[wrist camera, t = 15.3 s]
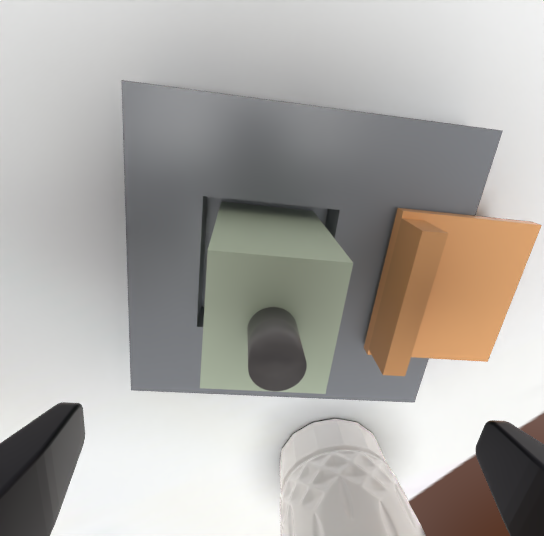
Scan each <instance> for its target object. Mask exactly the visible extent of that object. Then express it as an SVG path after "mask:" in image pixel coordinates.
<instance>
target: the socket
mask: <svg viewBox="0 0 544 536" xmlns="http://www.w3.org/2000/svg"><path fill="white" fill-rule="evenodd" d="M122 108H123V140H124V173H125V206H126V239H127V272H128V305H129V338H130V371H131V390H137V391H160V392H184V393H207V394H230V395H254V396H277V397H300V398H323V399H347V400H370V401H393V402H415V399H416V396H417V393H418V390H419V387H420V384H421V381H422V378H423V374H424V371H425V368H426V365H427V362H428V359H429V358H416V357H411V359H410V362H409V365H408V368H407V372H406V375H405V376H390V375H383V374H382V373H381V371H380V369H379V367H378V365H377V364H376V362H375V360H374V358H373V356H372V355H367V353H366V351H365V349H364V344H365V340H366V336H367V331H368V327H369V323H370V319H371V315H372V311H373V307H374V303H375V299H376V295H377V290H378V286H379V282H380V278H381V274H382V270H383V266H384V262H385V258H386V254H387V250H388V245H389V241H390V237H391V233H392V229H393V225H394V221H395V217H396V213H397V209H398V208H405V209H414V210H424V211H434V212H443V213H453V214H463V215H472V216H475V214H476V211H477V208H478V205H479V202H480V199H481V196H482V193H483V190H484V187H485V184H486V180H487V177H488V174H489V171H490V168H491V165H492V162H493V159H494V156H495V153H496V150H497V147H498V144H499V140H500V137H501V134H502V131H501V130H494V129H486V128H479V127H471V126H463V125H456V124H448V123H441V122H433V121H426V120H418V119H411V118H403V117H396V116H388V115H380V114H373V113H365V112H358V111H350V110H343V109H335V108H328V107H320V106H312V105H305V104H297V103H290V102H282V101H275V100H267V99H260V98H252V97H245V96H237V95H229V94H222V93H214V92H207V91H199V90H192V89H184V88H177V87H169V86H162V85H154V84H146V83H139V82H131V81H124V80H122ZM221 202H231V203H241V204H251V205H260V206H270V207H280V208H290V209H299V210H309V211H313V212H314V213H315V214H316V215H317V217H318V218H319V219H320V221H321V222H322V223H323V224H324V226H325V227H326V228H327V230H328V231H329V232H330V233H331V235H332V236H333V237H334V239H335V240H336V241H337V242H338V244H339V245H340V246H341V248H342V249H343V250H344V251H345V253H346V254H347V255H348V257H349V258H350V259H351V260H352V262H353V267H352V272H351V276H350V281H349V286H348V290H347V295H346V300H345V305H344V309H343V314H342V319H341V323H340V328H339V333H338V337H337V342H336V347H335V351H334V356H333V361H332V365H331V370H330V375H329V379H328V384H327V389H326V394H314V393H292V392H270V391H249V390H227V389H205V388H200V375H201V357H202V340H203V322H204V305H205V287H206V270H207V252H208V247H209V243H210V240H211V236H212V233H213V229H214V226H215V222H216V219H217V215H218V211H219V208H220V204H221Z"/></svg>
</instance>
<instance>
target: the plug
mask: <svg viewBox="0 0 544 536" xmlns="http://www.w3.org/2000/svg"><path fill="white" fill-rule="evenodd" d="M352 267H353V262H352V260H351V259H350V258H349V257H348V255H347V254H346V253H345V251H344V250H343V249H342V248H341V246H340V245H339V244H338V242H337V241H336V240H335V239H334V237H333V236H332V235H331V233H330V232H329V231H328V230H327V228H326V227H325V226H324V224H323V223H322V222H321V221H320V219H319V218H318V217H317V215H316V214H315V213H314V212H313V211H309V210H299V209H290V208H280V207H270V206H260V205H251V204H241V203H231V202H221V204H220V208H219V211H218V215H217V219H216V222H215V226H214V229H213V233H212V236H211V240H210V243H209V247H208V252H207V270H206V287H205V305H204V322H203V340H202V357H201V375H200V388H205V389H227V390H249V391H270V392H292V393H314V394H326V389H327V384H328V379H329V375H330V370H331V365H332V361H333V356H334V351H335V347H336V342H337V337H338V333H339V328H340V323H341V319H342V314H343V309H344V305H345V300H346V295H347V290H348V286H349V281H350V276H351V272H352Z"/></svg>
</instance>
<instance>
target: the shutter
mask: <svg viewBox="0 0 544 536" xmlns="http://www.w3.org/2000/svg"><path fill="white" fill-rule="evenodd" d="M540 228H541V225H540V224H537V223H534V222H530V221H520V220H511V219H501V218H491V217H482V216H472V215H463V214H453V213H443V212H434V211H424V210H414V209H405V208H398V209H397V213H396V217H395V221H394V225H393V229H392V233H391V237H390V241H389V245H388V250H387V254H386V258H385V262H384V266H383V270H382V274H381V278H380V282H379V286H378V290H377V295H376V299H375V303H374V307H373V311H372V315H371V319H370V323H369V327H368V331H367V336H366V340H365V344H364V349H365V351H366V353H367V355H372V356H373V358H374V360H375V362H376V364H377V365H378V367H379V369H380V371H381V373H382V374H383V375H390V376H405V375H406V372H407V368H408V365H409V362H410V359H411V357H416V358H434V359H451V360H469V361H486V362H488V359H489V357H490V354H491V352H492V349H493V346H494V344H495V341H496V339H497V336H498V334H499V331H500V329H501V326H502V324H503V321H504V319H505V316H506V314H507V311H508V309H509V306H510V304H511V301H512V298H513V296H514V293H515V291H516V288H517V286H518V283H519V281H520V278H521V276H522V273H523V271H524V268H525V266H526V263H527V261H528V258H529V256H530V253H531V251H532V248H533V245H534V243H535V240H536V238H537V235H538V233H539V230H540Z"/></svg>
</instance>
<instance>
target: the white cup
mask: <svg viewBox="0 0 544 536" xmlns="http://www.w3.org/2000/svg"><path fill="white" fill-rule="evenodd" d="M280 486H281V495H280V529H281V536H426V535H425V533H424V531H423V529H422V527H421V525H420V523H419V521H418V519H417V517H416V515H415V513H414V512H413V510H412V508H411V506H410V504H409V501H408V499H407V497H406V495H405V493H404V491H403V489H402V488H401V486H400V484H399V482H398V480H397V478H396V476H395V475H394V474H393V472H392V471H391V470H390V468H389V465H388V464H387V462H386V460H385V458H384V456H383V453H382V451H381V449H380V447H379V445H378V443H377V441H376V438H375V436H374V435H373V433H371V432H370V431H368V430H367V429H366V428H364V427H363V426H361V425H360V424H359V423H357V422H352V421H346V420H341V419H330V420H325V421H319V422H314V423H311V424H309V425H308V426H306V427H304V428H303V429H301V430H299V431H297V432H296V433H294V434H293V435H292V436H291V438H290V439H289V440H288V442H287V443H286V444H285V446H284V447H283V448H282V450H281V457H280Z"/></svg>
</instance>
